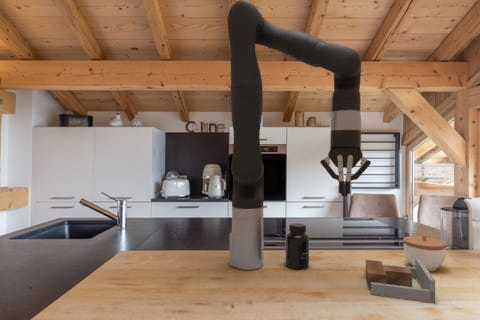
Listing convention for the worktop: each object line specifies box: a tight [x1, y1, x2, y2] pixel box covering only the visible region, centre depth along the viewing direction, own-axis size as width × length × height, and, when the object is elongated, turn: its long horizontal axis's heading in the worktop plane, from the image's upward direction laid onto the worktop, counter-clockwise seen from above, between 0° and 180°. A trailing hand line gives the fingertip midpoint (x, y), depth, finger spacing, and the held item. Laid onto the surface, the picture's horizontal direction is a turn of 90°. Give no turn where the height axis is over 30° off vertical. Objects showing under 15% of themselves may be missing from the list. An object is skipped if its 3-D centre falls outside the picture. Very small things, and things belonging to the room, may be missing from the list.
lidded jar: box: [402, 234, 447, 272], centre depth 89 cm, size 11×11×9 cm
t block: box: [365, 259, 413, 291], centre depth 78 cm, size 10×10×4 cm
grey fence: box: [370, 258, 436, 304], centre depth 77 cm, size 13×15×5 cm
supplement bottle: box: [284, 222, 310, 270], centre depth 90 cm, size 7×7×12 cm
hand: (344, 195), depth 81 cm, fingers closed
